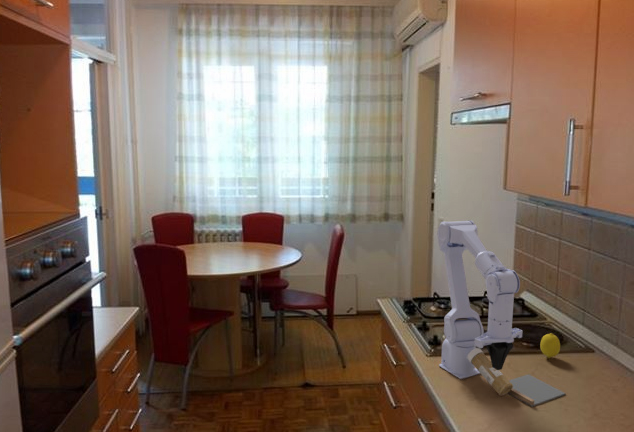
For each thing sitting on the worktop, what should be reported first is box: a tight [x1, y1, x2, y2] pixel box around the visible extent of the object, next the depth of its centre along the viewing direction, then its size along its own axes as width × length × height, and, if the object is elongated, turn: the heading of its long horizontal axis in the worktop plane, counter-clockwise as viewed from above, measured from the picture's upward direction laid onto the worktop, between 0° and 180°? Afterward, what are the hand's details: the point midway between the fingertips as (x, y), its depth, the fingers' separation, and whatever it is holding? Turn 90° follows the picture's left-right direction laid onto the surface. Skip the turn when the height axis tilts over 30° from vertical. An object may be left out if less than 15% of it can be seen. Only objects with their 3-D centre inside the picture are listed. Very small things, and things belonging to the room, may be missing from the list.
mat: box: [507, 374, 566, 408], centre depth 139 cm, size 12×13×2 cm
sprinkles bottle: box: [467, 347, 513, 397], centre depth 139 cm, size 5×5×14 cm
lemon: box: [539, 332, 561, 359], centre depth 157 cm, size 6×6×8 cm
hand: (497, 368), depth 131 cm, fingers closed
